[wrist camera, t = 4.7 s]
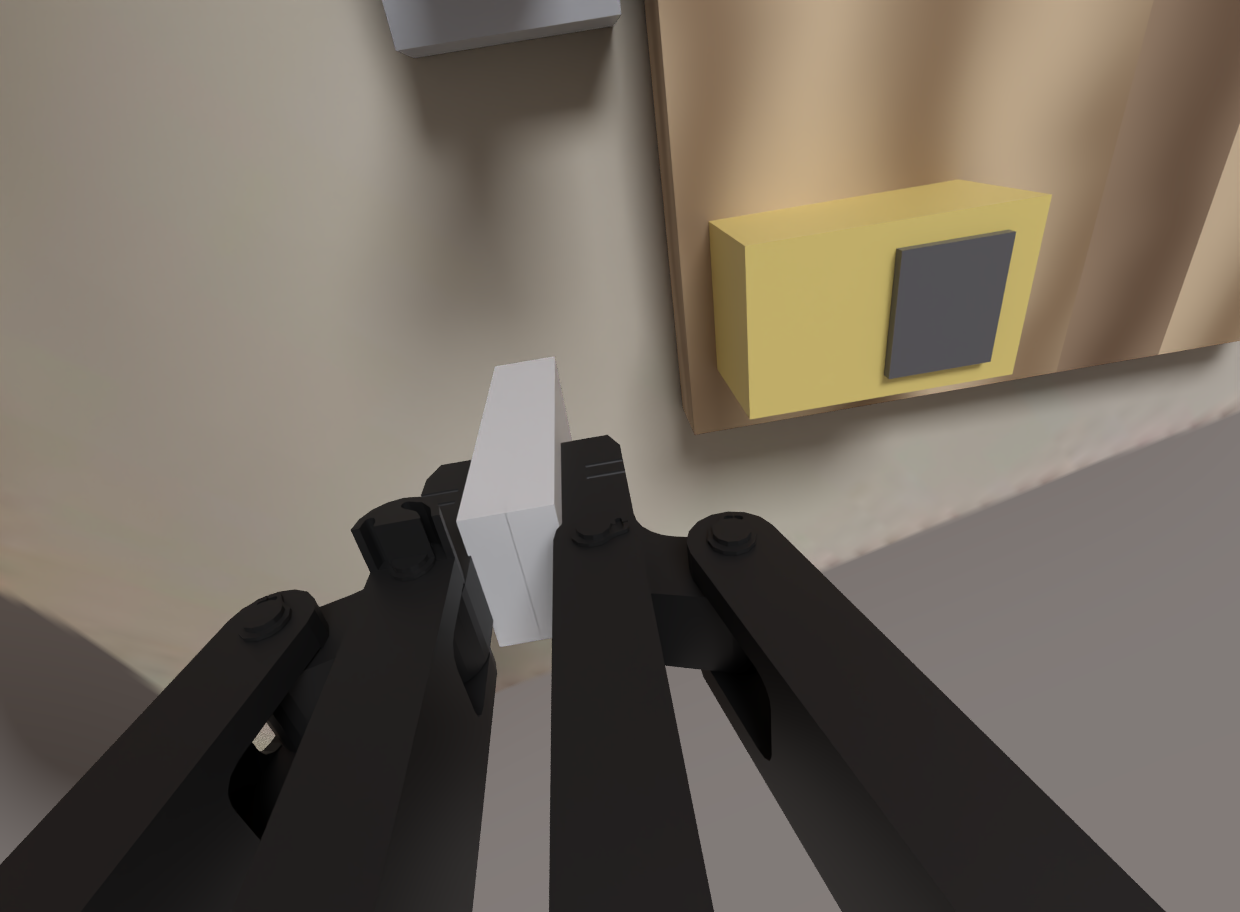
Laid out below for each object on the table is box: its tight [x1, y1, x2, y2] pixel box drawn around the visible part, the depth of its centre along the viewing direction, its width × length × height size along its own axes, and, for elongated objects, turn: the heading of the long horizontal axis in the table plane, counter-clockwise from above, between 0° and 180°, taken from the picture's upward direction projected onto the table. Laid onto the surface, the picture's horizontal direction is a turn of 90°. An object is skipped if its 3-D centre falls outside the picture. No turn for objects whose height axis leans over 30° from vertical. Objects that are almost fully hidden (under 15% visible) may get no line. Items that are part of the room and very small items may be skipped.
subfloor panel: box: [644, 0, 1240, 435], centre depth 19 cm, size 24×18×2 cm
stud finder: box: [709, 179, 1052, 419], centre depth 18 cm, size 8×5×4 cm, turn 98°
